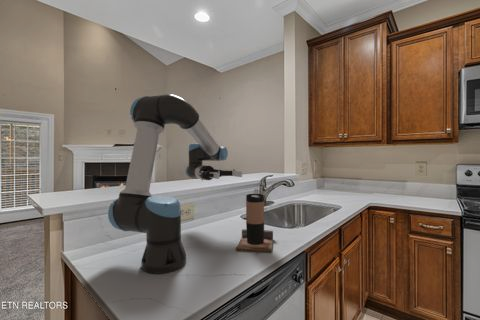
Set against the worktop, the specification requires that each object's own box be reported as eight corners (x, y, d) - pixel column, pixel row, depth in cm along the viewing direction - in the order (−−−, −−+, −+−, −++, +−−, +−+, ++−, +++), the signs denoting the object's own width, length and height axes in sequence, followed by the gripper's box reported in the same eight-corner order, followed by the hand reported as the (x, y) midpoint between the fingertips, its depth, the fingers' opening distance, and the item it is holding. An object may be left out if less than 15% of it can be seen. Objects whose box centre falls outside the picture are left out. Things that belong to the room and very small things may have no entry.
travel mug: (251, 237, 107) (251, 193, 106) (267, 240, 103) (266, 194, 102) (243, 243, 100) (242, 195, 100) (259, 246, 96) (259, 197, 96)
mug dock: (271, 253, 93) (271, 242, 93) (236, 250, 95) (236, 240, 95) (272, 239, 107) (272, 230, 107) (242, 237, 110) (242, 229, 110)
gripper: (224, 178, 133) (250, 181, 117) (183, 181, 117) (207, 185, 101) (223, 164, 133) (250, 165, 117) (183, 166, 117) (207, 167, 101)
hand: (230, 174), depth 109 cm, fingers open, 13 cm apart
